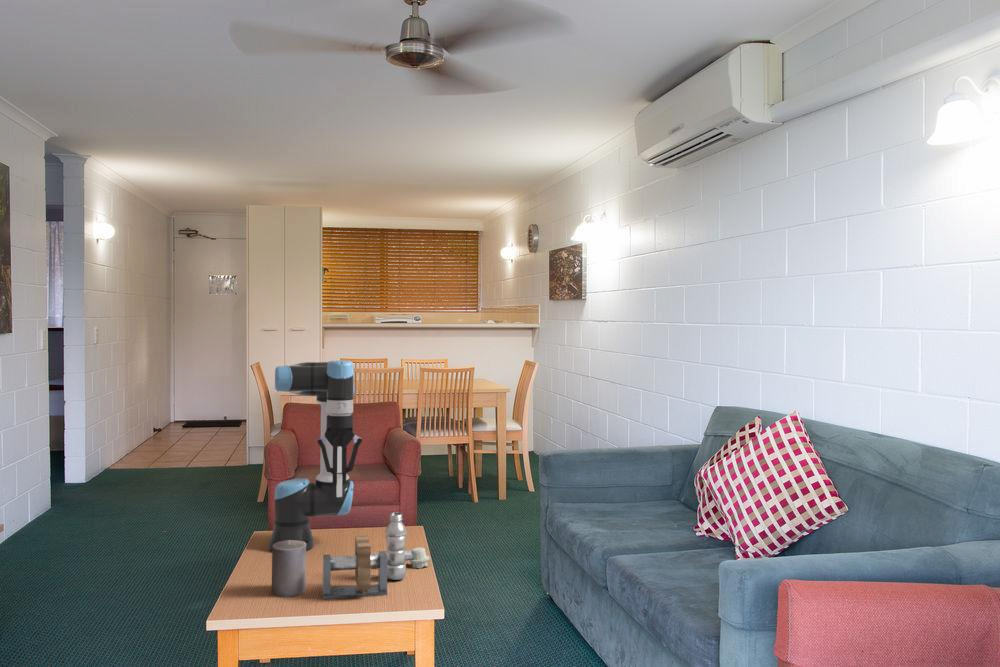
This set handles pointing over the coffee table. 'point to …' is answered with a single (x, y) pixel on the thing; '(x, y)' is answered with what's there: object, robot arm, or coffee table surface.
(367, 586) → the slotted tan block
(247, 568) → the coffee table surface
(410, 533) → the coffee table surface
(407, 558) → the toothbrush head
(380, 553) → the rail stand
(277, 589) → the pillar candle
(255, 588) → the coffee table surface
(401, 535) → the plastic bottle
